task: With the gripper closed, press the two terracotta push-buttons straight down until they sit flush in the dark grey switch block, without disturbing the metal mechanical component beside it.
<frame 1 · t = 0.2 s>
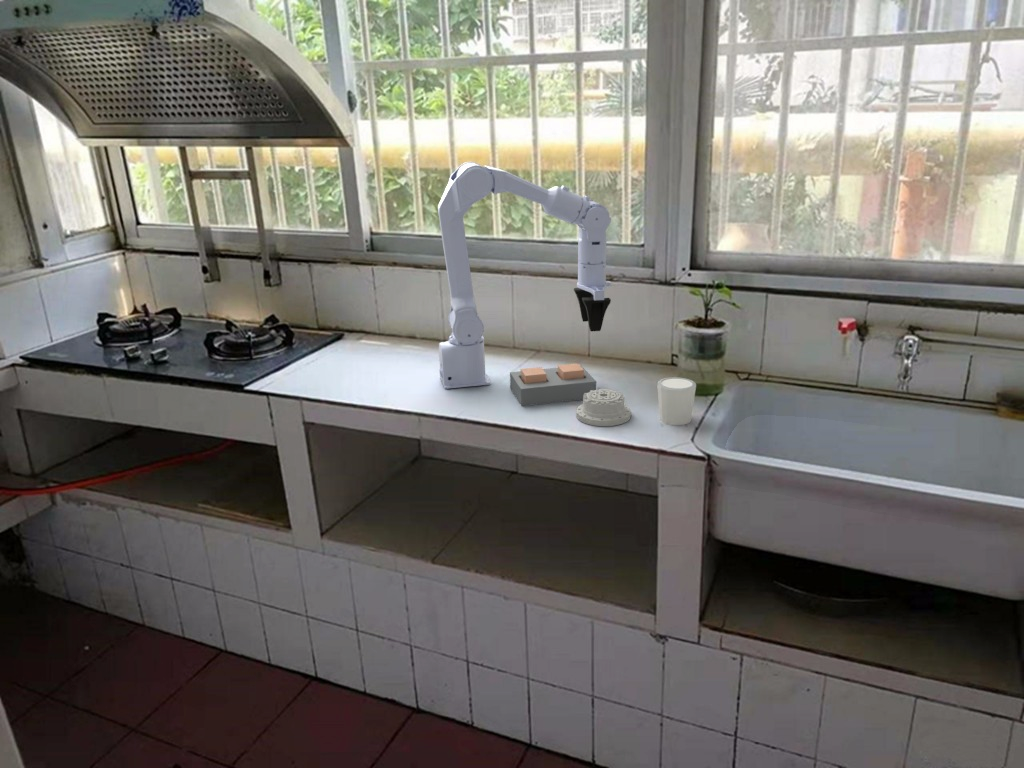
hand: (591, 325, 168), 10 cm above the worktop, tool pointing down, fingers open, 7 cm apart
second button: (570, 375, 158), point 3 cm above the worktop, slide at 0.0 cm
mechanical component: (603, 418, 147), on the worktop
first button: (533, 379, 157), point 3 cm above the worktop, slide at 0.0 cm
white cup: (675, 420, 145), on the worktop
switch block: (552, 393, 159), on the worktop
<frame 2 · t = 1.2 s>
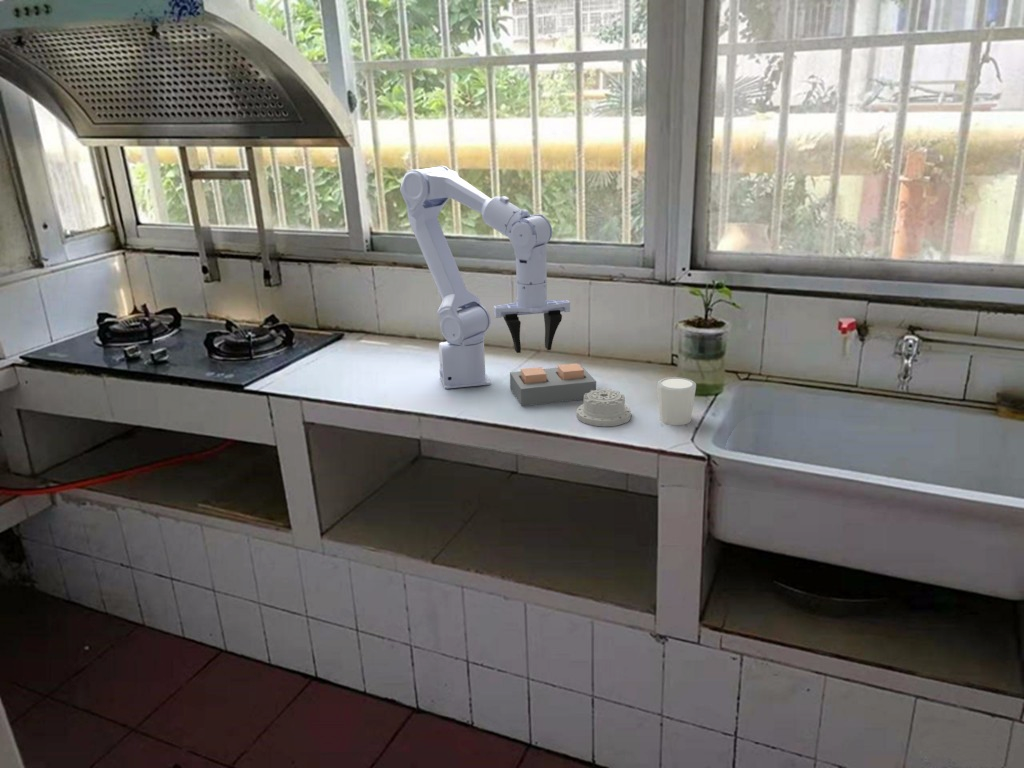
hand: (532, 350, 155), 9 cm above the worktop, tool pointing down, fingers open, 5 cm apart
nothing on the worktop moved.
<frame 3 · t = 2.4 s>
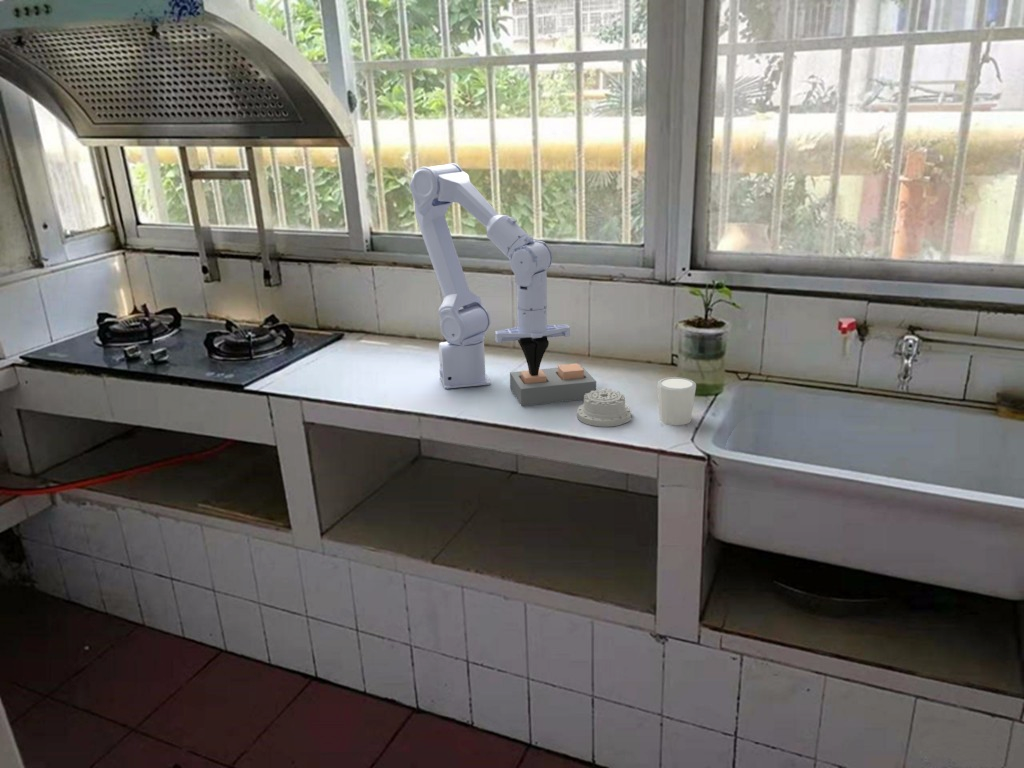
hand: (533, 374, 156), 4 cm above the worktop, tool pointing down, fingers closed, pressing on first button
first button: (533, 381, 157), point 3 cm above the worktop, slide at 0.5 cm, touching gripper
everything else where it was.
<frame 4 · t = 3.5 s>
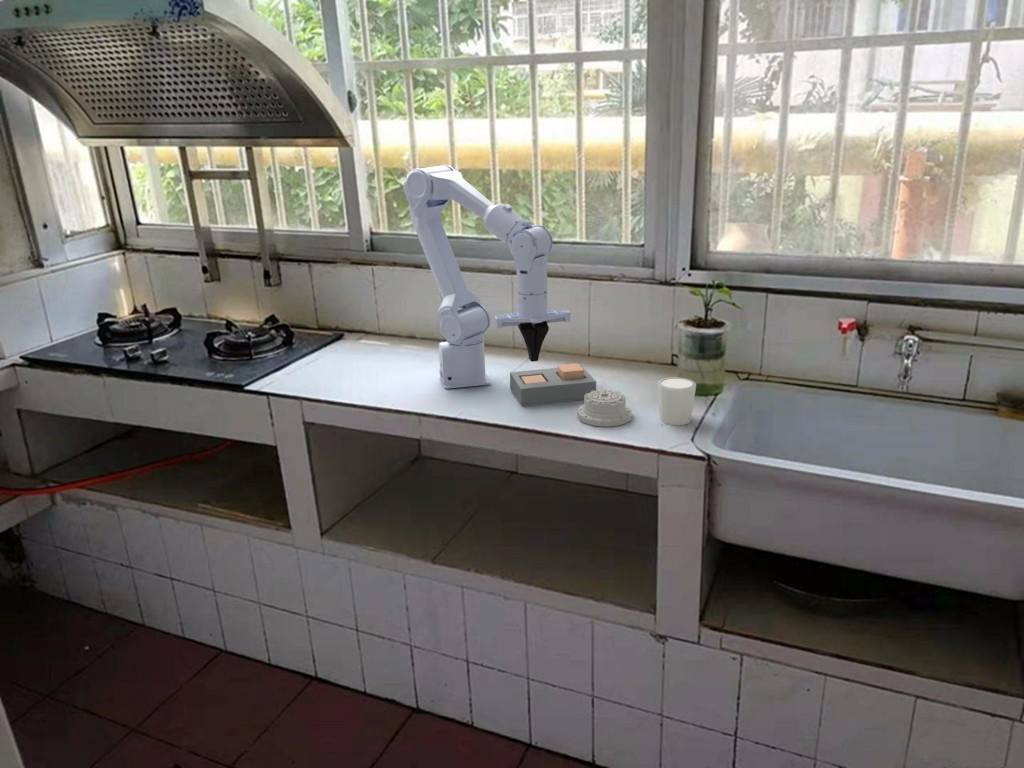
hand: (533, 359, 155), 7 cm above the worktop, tool pointing down, fingers closed
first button: (533, 386, 157), point 2 cm above the worktop, slide at 1.6 cm
everything else where it was.
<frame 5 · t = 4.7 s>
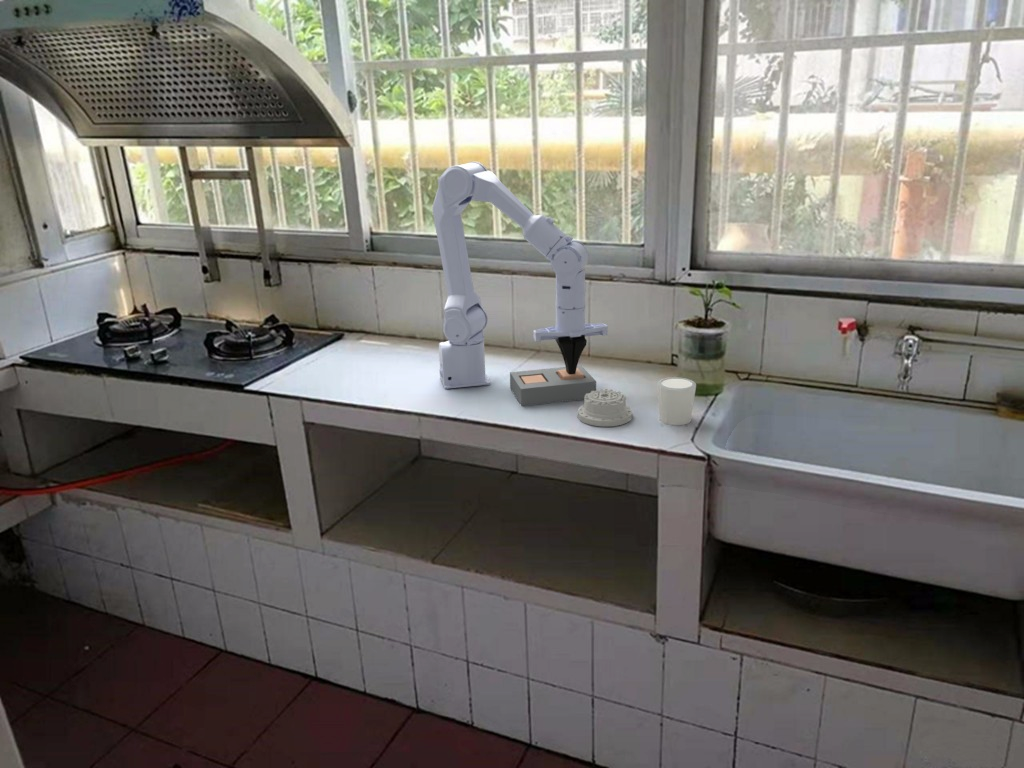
hand: (570, 372, 158), 4 cm above the worktop, tool pointing down, fingers closed, pressing on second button
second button: (570, 379, 159), point 2 cm above the worktop, slide at 1.0 cm, touching gripper
everything else where it was.
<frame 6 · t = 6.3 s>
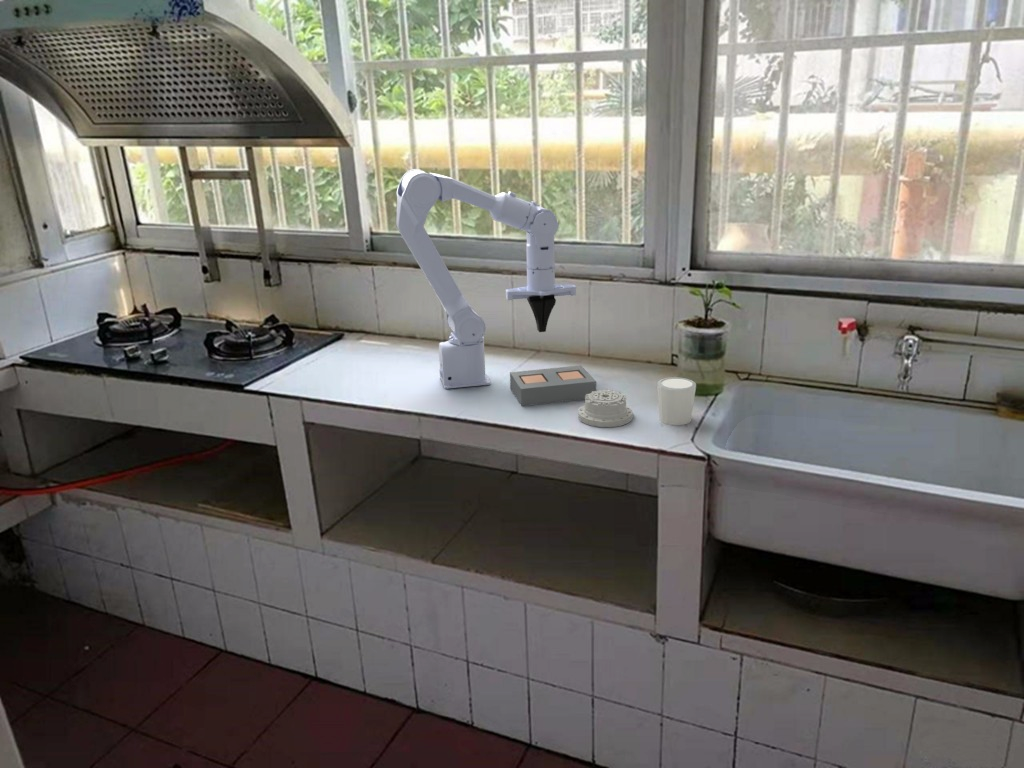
hand: (541, 330, 168), 9 cm above the worktop, tool pointing down, fingers closed
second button: (570, 382, 159), point 2 cm above the worktop, slide at 1.6 cm
everything else where it was.
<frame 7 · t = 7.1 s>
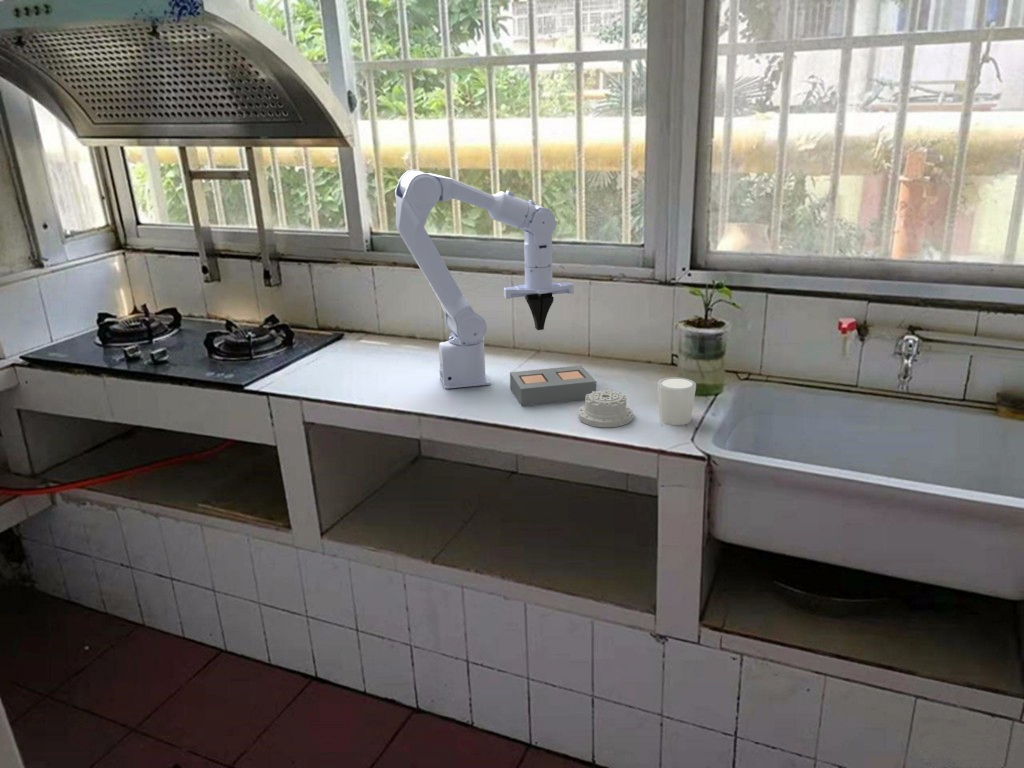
hand: (539, 328, 169), 9 cm above the worktop, tool pointing down, fingers closed
nothing on the worktop moved.
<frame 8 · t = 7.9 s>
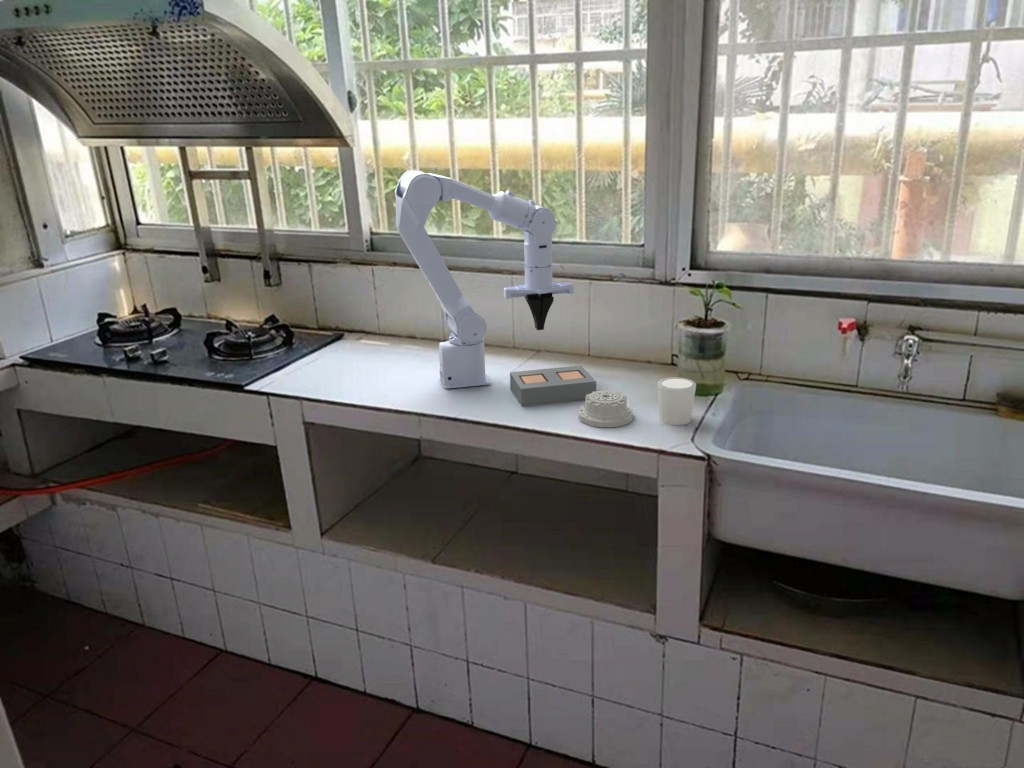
hand: (539, 328, 169), 9 cm above the worktop, tool pointing down, fingers closed
nothing on the worktop moved.
at the end: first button slide at 1.6 cm; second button slide at 1.6 cm; mechanical component moved 0.9 cm from its start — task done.
